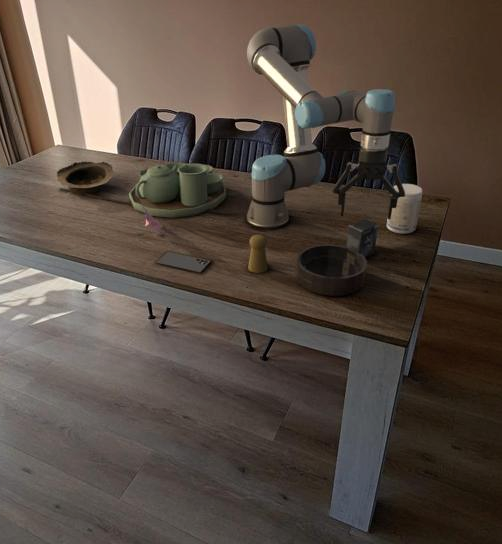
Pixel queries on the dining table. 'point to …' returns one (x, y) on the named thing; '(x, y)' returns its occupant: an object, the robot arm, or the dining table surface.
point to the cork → (258, 254)
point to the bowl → (331, 269)
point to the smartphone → (183, 262)
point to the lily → (151, 221)
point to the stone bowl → (85, 176)
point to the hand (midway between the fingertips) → (365, 215)
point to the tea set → (178, 190)
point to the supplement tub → (406, 210)
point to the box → (362, 237)
